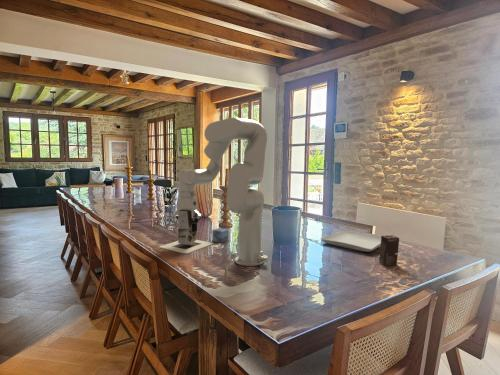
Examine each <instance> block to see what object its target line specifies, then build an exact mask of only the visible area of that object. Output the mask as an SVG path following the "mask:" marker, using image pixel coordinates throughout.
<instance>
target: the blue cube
mask: <svg viewBox="0 0 500 375" xmlns="http://www.w3.org/2000/svg"><path fill="white" fill-rule="evenodd" d="M211 234H212V236H211V237H212V240H211V241H212V242H216V243H221V244H222V242H223V243H225V242H227V241H229V229H228V228H223V227H217V228H215V229H212V233H211Z"/></svg>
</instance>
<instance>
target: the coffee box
mask: <svg viewBox="0 0 500 375" xmlns="http://www.w3.org/2000/svg"><path fill="white" fill-rule="evenodd" d="M193 217H194V216H193ZM196 218H197V217H196ZM192 224H193V223H192V218H191V211H189V210H179V211H178V221H177V227H178V228H177V232H178V233H177V237H178V238H177V241H178V243H182V244H183V245H184V244H185V245H191V244H193V242H194V241H196V240H198V230H197V231H195V232H192ZM182 244H181V245H182Z"/></svg>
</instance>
